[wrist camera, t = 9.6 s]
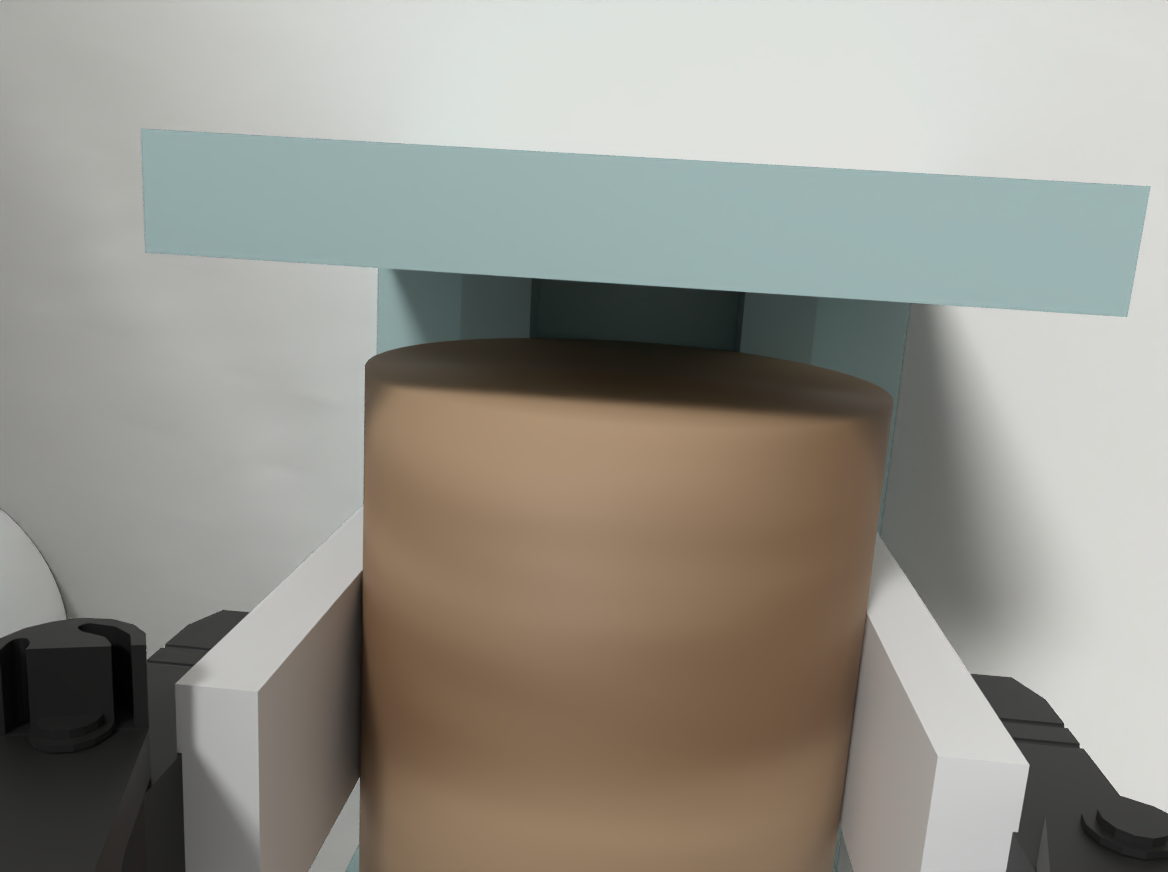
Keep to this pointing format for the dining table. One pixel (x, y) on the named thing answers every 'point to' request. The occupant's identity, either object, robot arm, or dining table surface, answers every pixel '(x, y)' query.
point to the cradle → (646, 244)
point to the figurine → (24, 582)
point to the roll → (611, 605)
